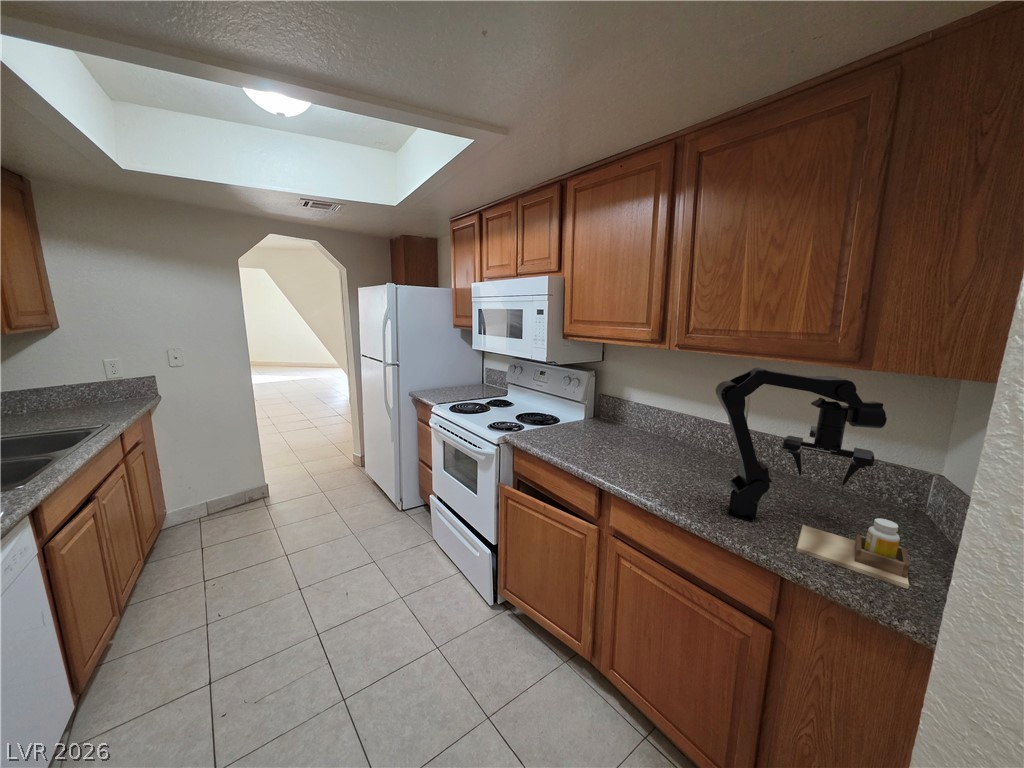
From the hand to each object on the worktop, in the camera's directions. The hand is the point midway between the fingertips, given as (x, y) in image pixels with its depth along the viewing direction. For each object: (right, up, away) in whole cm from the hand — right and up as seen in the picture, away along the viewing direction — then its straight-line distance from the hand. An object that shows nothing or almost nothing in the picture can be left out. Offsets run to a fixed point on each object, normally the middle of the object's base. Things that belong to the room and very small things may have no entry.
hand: (821, 479), depth 106 cm
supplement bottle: (+1, -15, -15) cm, 21 cm away
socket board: (-2, -15, -11) cm, 19 cm away
